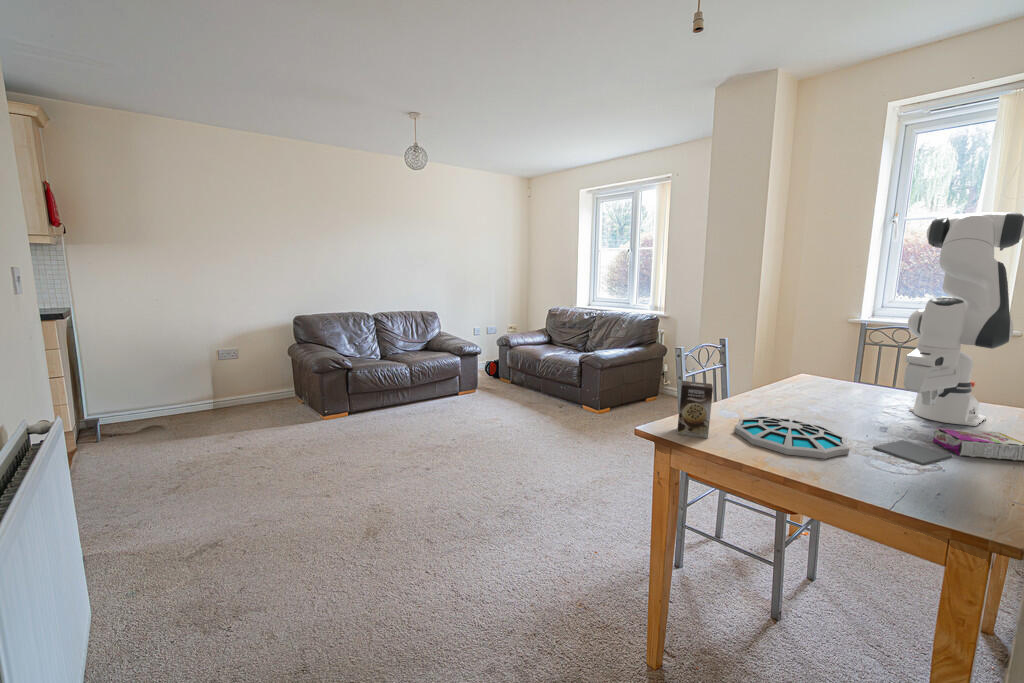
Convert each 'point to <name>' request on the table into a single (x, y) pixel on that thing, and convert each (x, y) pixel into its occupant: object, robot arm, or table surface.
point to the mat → (912, 452)
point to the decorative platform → (792, 437)
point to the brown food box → (695, 409)
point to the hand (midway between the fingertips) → (928, 404)
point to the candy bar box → (980, 444)
